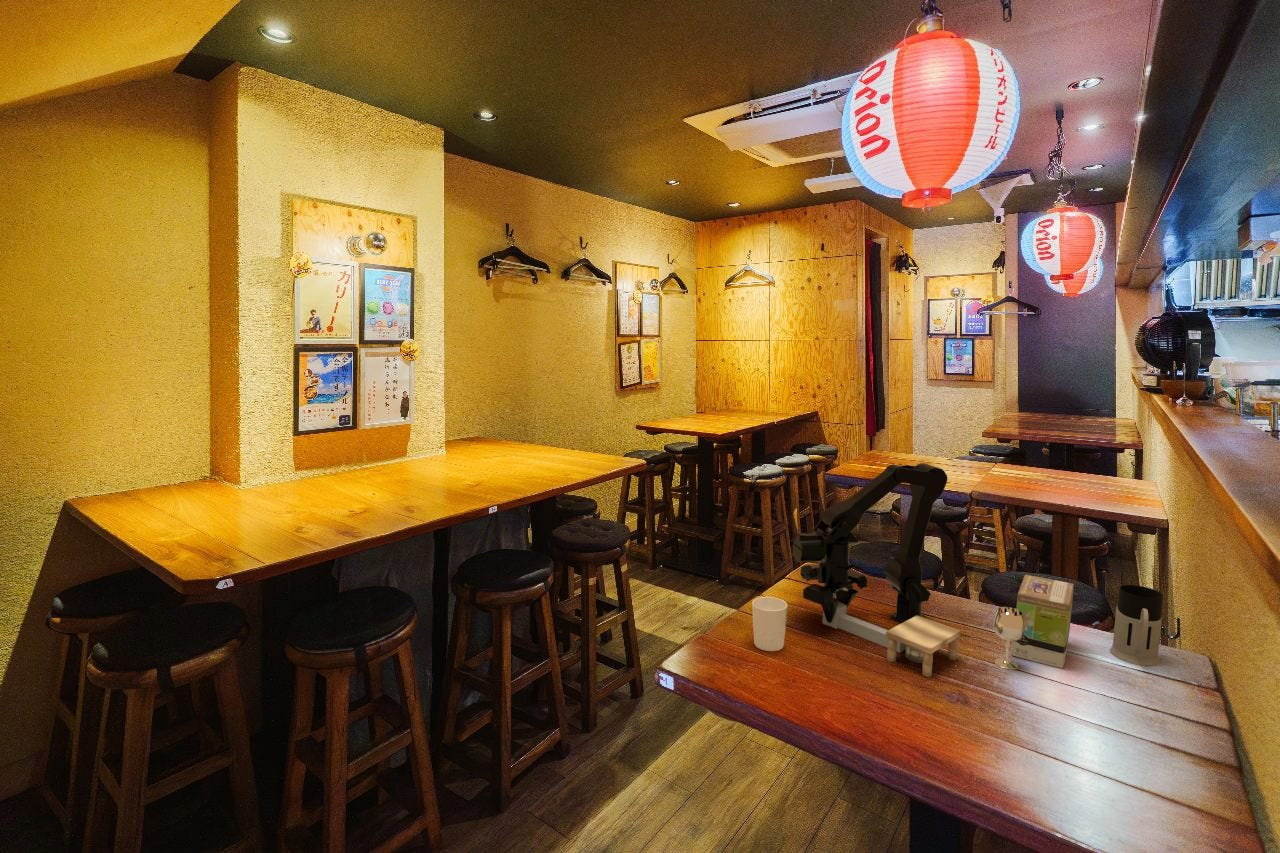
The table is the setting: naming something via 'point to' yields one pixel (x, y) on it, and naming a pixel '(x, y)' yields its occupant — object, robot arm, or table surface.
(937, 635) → the hinoki shelf
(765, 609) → the white cup
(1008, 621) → the wineglass
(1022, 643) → the tea box
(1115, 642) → the glass holder
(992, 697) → the table surface
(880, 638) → the gray hammer
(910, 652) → the steel puck
